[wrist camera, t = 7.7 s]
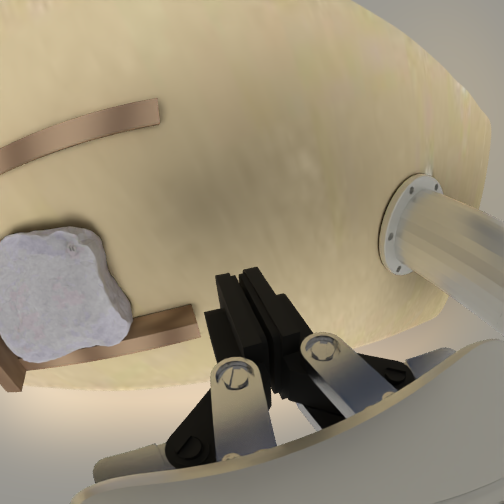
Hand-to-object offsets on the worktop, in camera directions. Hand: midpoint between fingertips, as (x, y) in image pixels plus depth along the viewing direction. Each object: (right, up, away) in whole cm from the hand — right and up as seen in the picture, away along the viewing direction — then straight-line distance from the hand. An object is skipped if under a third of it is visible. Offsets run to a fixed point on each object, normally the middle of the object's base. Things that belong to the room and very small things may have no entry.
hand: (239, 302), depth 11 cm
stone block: (-15, 0, +6) cm, 16 cm away
